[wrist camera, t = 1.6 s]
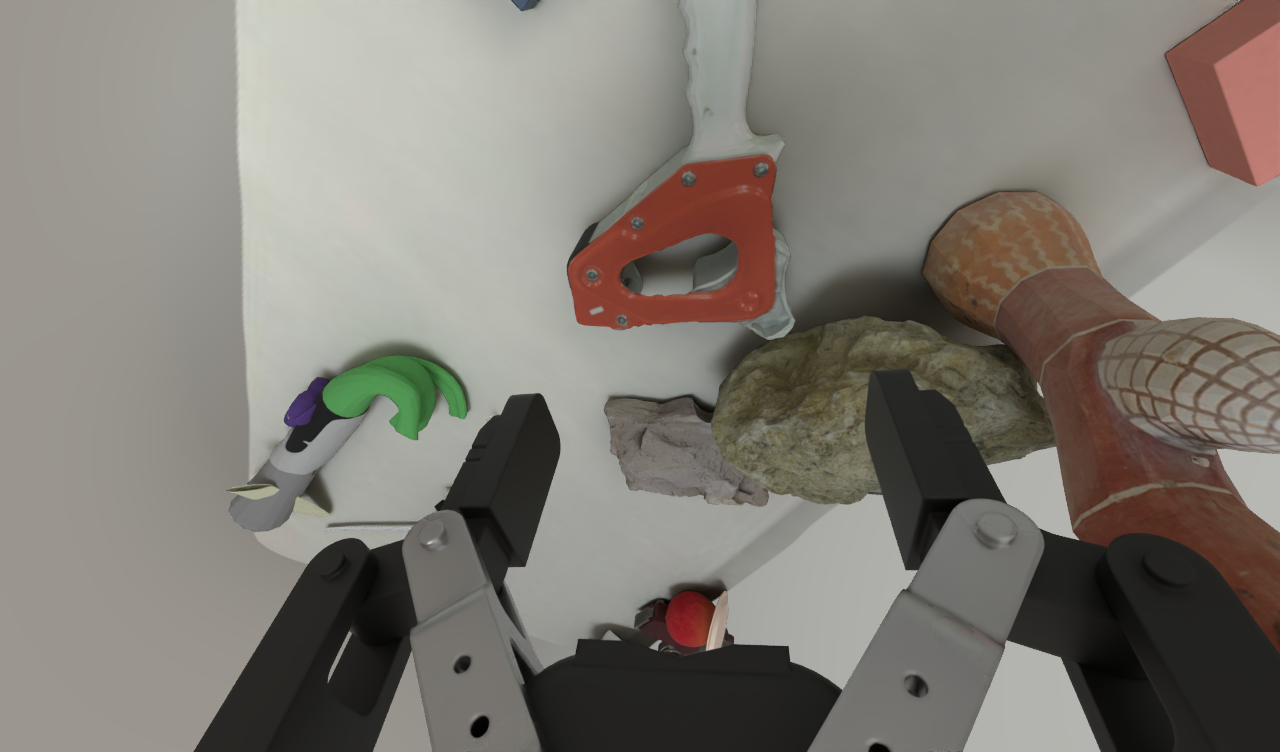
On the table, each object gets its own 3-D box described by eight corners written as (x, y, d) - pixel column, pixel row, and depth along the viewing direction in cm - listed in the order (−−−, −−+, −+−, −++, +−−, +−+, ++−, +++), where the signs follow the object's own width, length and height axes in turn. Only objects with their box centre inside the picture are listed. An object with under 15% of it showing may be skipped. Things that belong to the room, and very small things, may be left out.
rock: (1004, 578, 34) (1184, 397, 27) (783, 633, 26) (960, 390, 18) (851, 429, 46) (948, 274, 38) (663, 433, 37) (741, 234, 30)
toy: (250, 473, 53) (368, 301, 38) (349, 525, 57) (491, 389, 42) (205, 522, 49) (318, 348, 33) (315, 575, 52) (462, 442, 37)
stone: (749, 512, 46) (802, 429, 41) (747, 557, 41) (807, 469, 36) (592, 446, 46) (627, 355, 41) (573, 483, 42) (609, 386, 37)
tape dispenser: (727, -144, 22) (489, 202, 32) (732, -185, 18) (455, 230, 27) (956, 151, 27) (693, 369, 37) (1002, 176, 23) (691, 415, 33)
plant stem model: (1010, 153, 27) (2956, 1457, 4) (1108, 219, 28) (2919, 1433, 5) (865, 304, 33) (1218, 1117, 10) (952, 352, 34) (1434, 1153, 11)
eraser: (1280, -26, 21) (1349, -24, 19) (1316, 105, 24) (1380, 121, 22) (1164, 54, 23) (1213, 64, 21) (1209, 166, 26) (1257, 187, 24)
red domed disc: (722, 657, 58) (669, 637, 61) (735, 585, 59) (682, 569, 62) (705, 682, 51) (645, 659, 54) (720, 601, 52) (661, 581, 55)
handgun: (575, 655, 75) (664, 686, 78) (571, 676, 73) (662, 707, 76) (655, 594, 60) (761, 635, 63) (652, 618, 58) (762, 660, 61)
